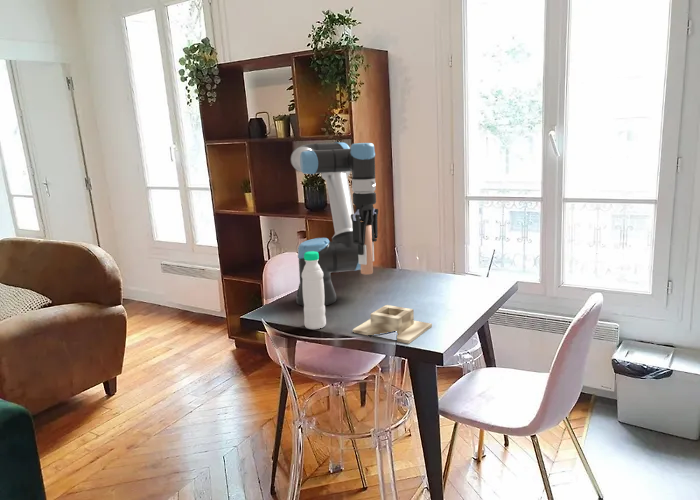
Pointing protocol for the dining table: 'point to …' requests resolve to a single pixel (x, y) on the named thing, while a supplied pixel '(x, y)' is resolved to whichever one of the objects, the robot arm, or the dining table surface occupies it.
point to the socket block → (394, 323)
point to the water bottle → (313, 292)
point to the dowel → (368, 252)
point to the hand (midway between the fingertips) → (366, 262)
